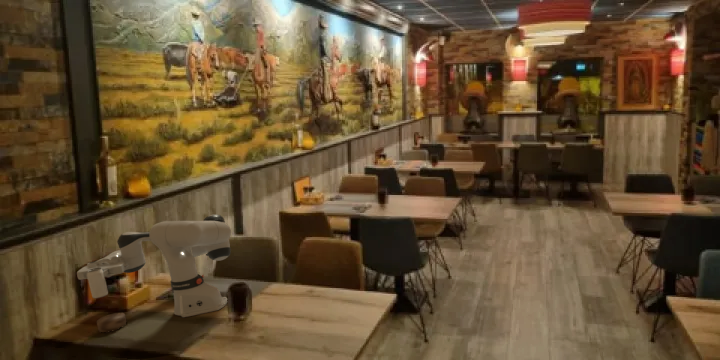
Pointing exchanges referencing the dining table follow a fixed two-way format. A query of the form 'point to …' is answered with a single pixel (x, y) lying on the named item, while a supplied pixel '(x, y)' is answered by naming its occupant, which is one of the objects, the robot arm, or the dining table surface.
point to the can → (97, 282)
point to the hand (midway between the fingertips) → (93, 276)
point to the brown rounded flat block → (111, 322)
